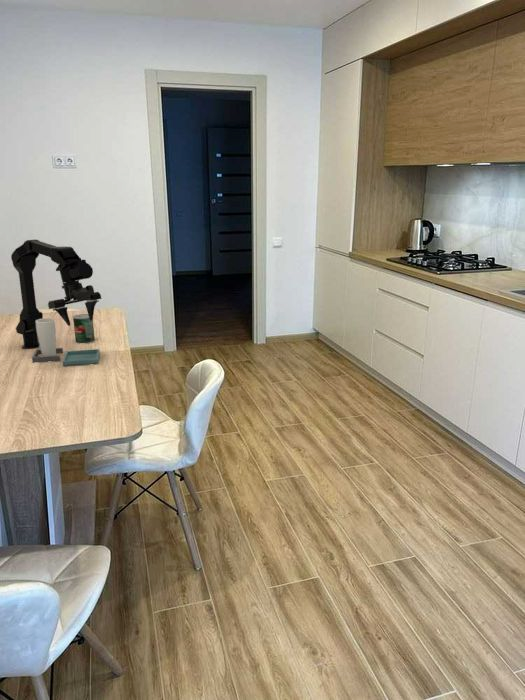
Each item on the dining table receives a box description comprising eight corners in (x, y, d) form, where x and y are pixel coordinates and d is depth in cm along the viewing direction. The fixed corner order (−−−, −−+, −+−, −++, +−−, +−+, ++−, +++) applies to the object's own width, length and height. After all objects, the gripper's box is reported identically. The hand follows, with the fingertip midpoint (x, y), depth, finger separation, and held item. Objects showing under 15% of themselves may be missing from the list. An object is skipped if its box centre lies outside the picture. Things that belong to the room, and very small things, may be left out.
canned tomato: (97, 338, 226) (95, 314, 222) (90, 344, 218) (87, 318, 215) (80, 338, 227) (77, 313, 223) (72, 343, 219) (69, 318, 216)
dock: (36, 354, 205) (36, 349, 204) (63, 352, 207) (62, 347, 206) (32, 362, 195) (31, 357, 194) (60, 360, 197) (59, 355, 197)
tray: (66, 356, 203) (65, 351, 202) (99, 353, 206) (99, 349, 205) (62, 366, 191) (62, 361, 191) (98, 364, 194) (97, 359, 194)
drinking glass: (52, 360, 197) (47, 322, 193) (36, 359, 199) (31, 321, 194) (62, 355, 204) (57, 318, 199) (46, 354, 205) (42, 317, 200)
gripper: (57, 284, 178) (68, 328, 181) (104, 275, 191) (113, 316, 194) (42, 286, 186) (53, 328, 189) (89, 278, 199) (98, 318, 202)
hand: (80, 322), depth 193 cm, fingers open, 9 cm apart
